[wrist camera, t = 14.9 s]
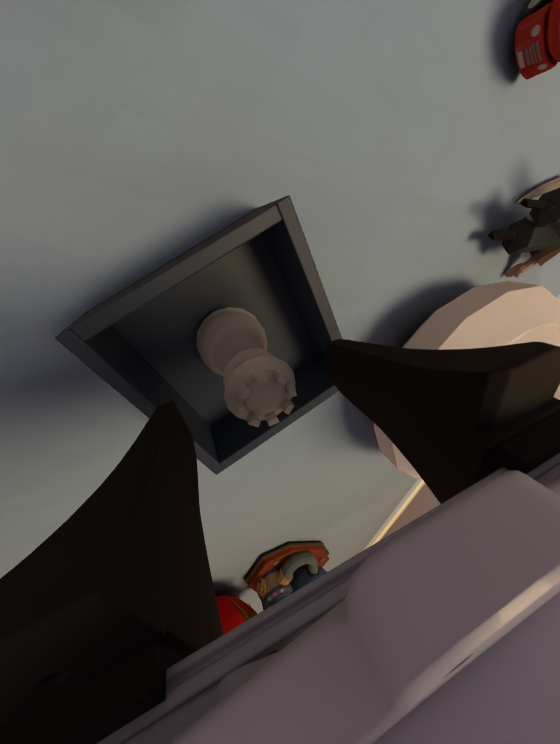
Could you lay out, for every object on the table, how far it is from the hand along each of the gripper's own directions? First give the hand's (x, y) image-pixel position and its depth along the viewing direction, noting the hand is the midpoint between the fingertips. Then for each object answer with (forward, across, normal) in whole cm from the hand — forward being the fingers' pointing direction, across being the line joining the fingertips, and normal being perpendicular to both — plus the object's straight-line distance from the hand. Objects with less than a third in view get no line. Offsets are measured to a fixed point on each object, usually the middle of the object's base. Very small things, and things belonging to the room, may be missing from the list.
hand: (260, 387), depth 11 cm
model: (+7, +2, +34) cm, 35 cm away
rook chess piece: (+7, 0, 0) cm, 7 cm away
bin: (+7, 0, 0) cm, 7 cm away
